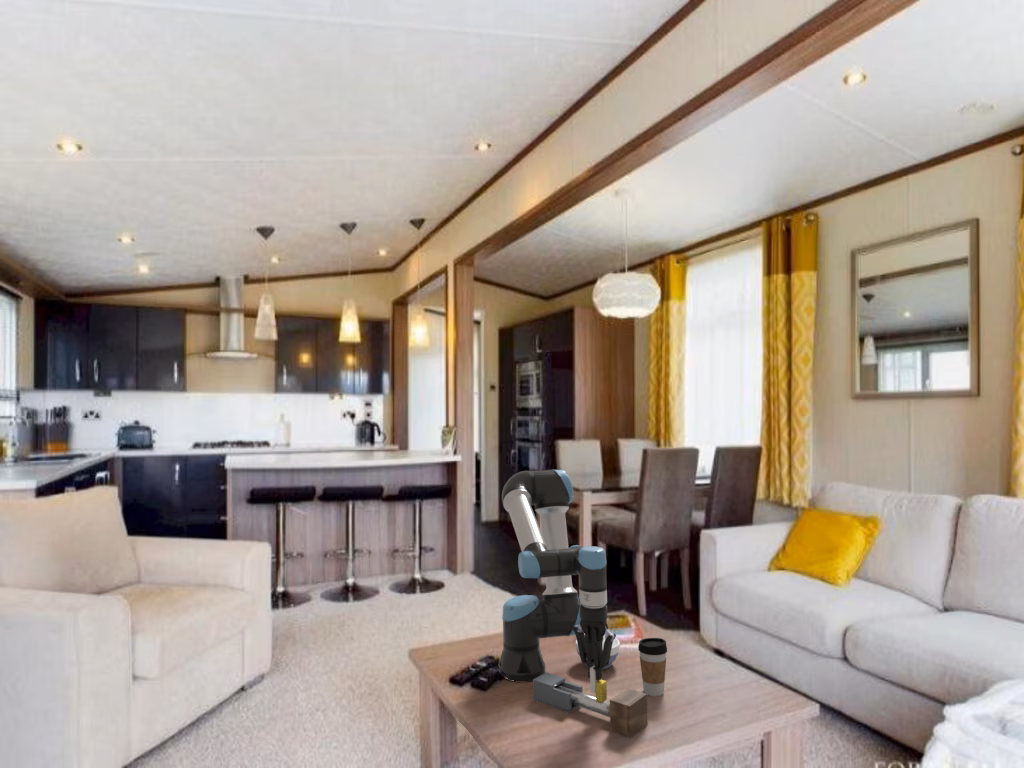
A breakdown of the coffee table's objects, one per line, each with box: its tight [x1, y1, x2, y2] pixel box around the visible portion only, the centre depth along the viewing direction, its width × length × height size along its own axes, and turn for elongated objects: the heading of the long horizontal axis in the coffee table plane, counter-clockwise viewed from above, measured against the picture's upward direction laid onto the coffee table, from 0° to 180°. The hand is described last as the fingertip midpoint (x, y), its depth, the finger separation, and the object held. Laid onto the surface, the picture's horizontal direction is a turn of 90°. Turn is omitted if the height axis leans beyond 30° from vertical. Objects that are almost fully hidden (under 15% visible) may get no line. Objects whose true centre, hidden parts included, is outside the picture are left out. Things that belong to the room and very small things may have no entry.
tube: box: [554, 679, 610, 718], centre depth 184 cm, size 22×4×9 cm, turn 50°
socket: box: [609, 687, 648, 738], centre depth 175 cm, size 6×9×8 cm, turn 140°
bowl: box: [575, 635, 621, 670], centre depth 217 cm, size 14×14×8 cm
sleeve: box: [532, 671, 583, 714], centre depth 190 cm, size 13×7×6 cm, turn 50°
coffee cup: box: [637, 637, 668, 697], centre depth 196 cm, size 8×8×15 cm
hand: (595, 690), depth 182 cm, fingers closed
